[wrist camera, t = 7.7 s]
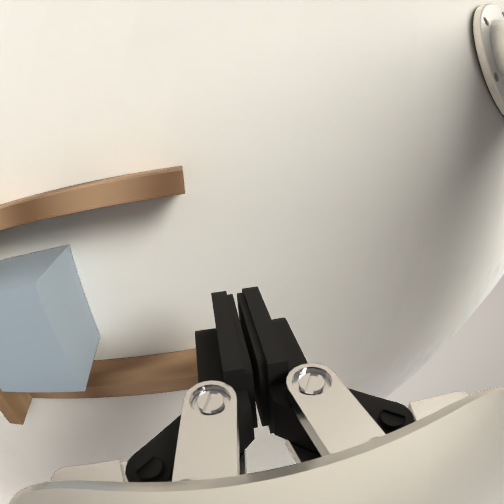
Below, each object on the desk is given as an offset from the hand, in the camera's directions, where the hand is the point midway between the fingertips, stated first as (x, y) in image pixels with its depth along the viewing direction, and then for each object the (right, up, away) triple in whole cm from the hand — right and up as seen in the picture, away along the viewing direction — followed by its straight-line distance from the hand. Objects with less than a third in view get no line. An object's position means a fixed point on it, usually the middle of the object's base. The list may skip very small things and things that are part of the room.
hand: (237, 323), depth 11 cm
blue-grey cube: (-12, 0, +4) cm, 13 cm away
